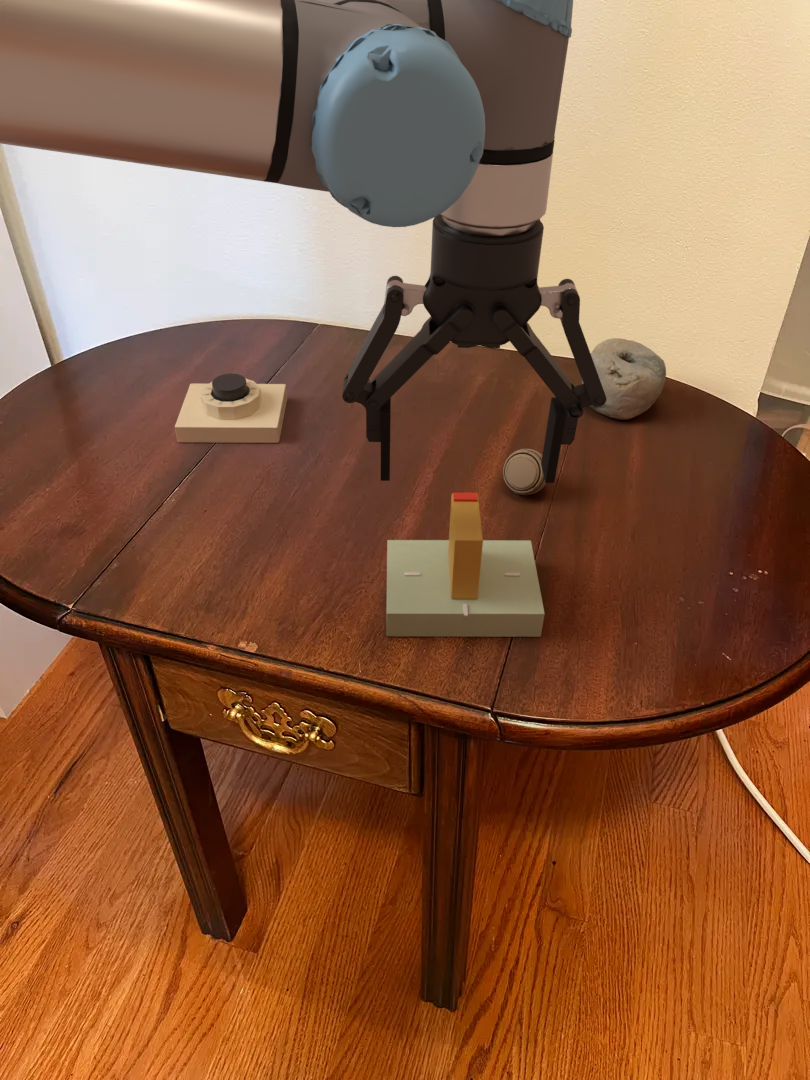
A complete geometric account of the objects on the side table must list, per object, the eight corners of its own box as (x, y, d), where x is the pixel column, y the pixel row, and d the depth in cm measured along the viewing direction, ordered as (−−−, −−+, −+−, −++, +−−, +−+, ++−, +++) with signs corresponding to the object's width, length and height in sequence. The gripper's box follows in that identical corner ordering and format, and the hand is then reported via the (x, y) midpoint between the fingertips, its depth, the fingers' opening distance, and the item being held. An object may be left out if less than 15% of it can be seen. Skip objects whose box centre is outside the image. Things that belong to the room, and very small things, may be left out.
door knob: (496, 479, 94) (499, 442, 91) (538, 474, 95) (543, 437, 92) (508, 506, 90) (513, 468, 87) (552, 501, 91) (558, 463, 88)
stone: (551, 374, 104) (604, 309, 103) (586, 409, 112) (637, 350, 110) (604, 412, 98) (662, 343, 96) (638, 447, 105) (692, 384, 104)
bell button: (211, 403, 99) (209, 390, 98) (216, 385, 102) (214, 373, 101) (245, 403, 99) (243, 390, 98) (249, 386, 102) (248, 373, 101)
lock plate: (386, 639, 75) (386, 615, 73) (387, 560, 84) (387, 536, 82) (541, 639, 76) (545, 615, 74) (527, 560, 84) (530, 536, 82)
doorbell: (177, 442, 99) (171, 413, 96) (192, 398, 106) (188, 370, 104) (279, 443, 99) (276, 414, 96) (287, 398, 107) (284, 370, 104)
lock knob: (477, 599, 75) (483, 538, 70) (450, 599, 75) (454, 537, 70) (473, 551, 80) (478, 491, 75) (448, 551, 80) (451, 491, 75)
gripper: (659, 200, 59) (606, 449, 73) (307, 192, 59) (320, 444, 73) (687, 240, 54) (624, 501, 67) (297, 232, 53) (313, 497, 67)
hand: (466, 472), depth 70 cm, fingers open, 13 cm apart
